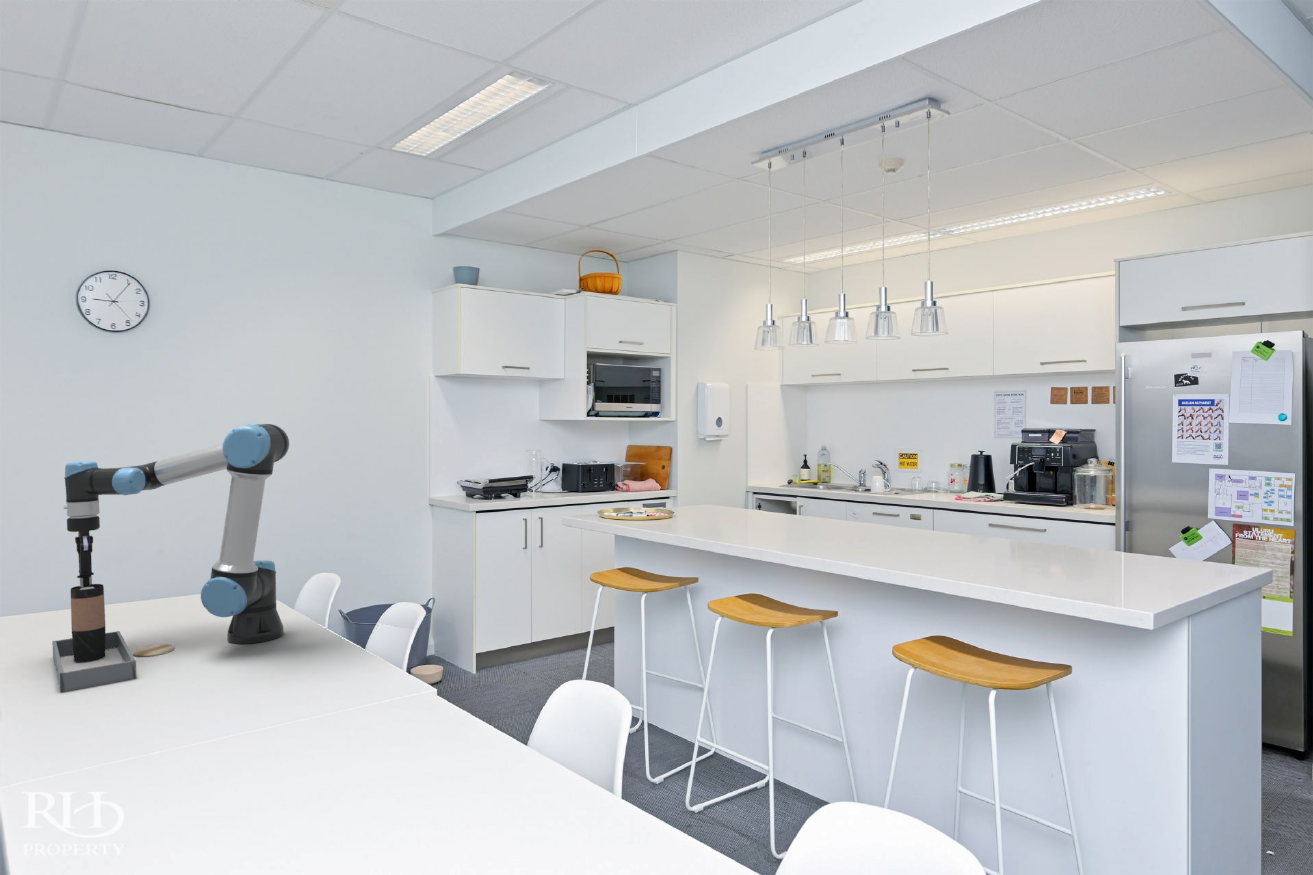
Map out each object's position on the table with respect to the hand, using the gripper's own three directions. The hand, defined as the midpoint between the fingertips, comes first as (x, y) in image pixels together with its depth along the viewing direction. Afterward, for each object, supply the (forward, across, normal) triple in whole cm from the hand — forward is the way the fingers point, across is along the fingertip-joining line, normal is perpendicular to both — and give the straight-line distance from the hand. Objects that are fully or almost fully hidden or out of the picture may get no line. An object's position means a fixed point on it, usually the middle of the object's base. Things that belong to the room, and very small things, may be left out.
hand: (86, 599), depth 228 cm
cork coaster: (+15, +10, +14) cm, 24 cm away
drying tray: (+15, +16, 0) cm, 22 cm away
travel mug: (+16, +6, 0) cm, 17 cm away
